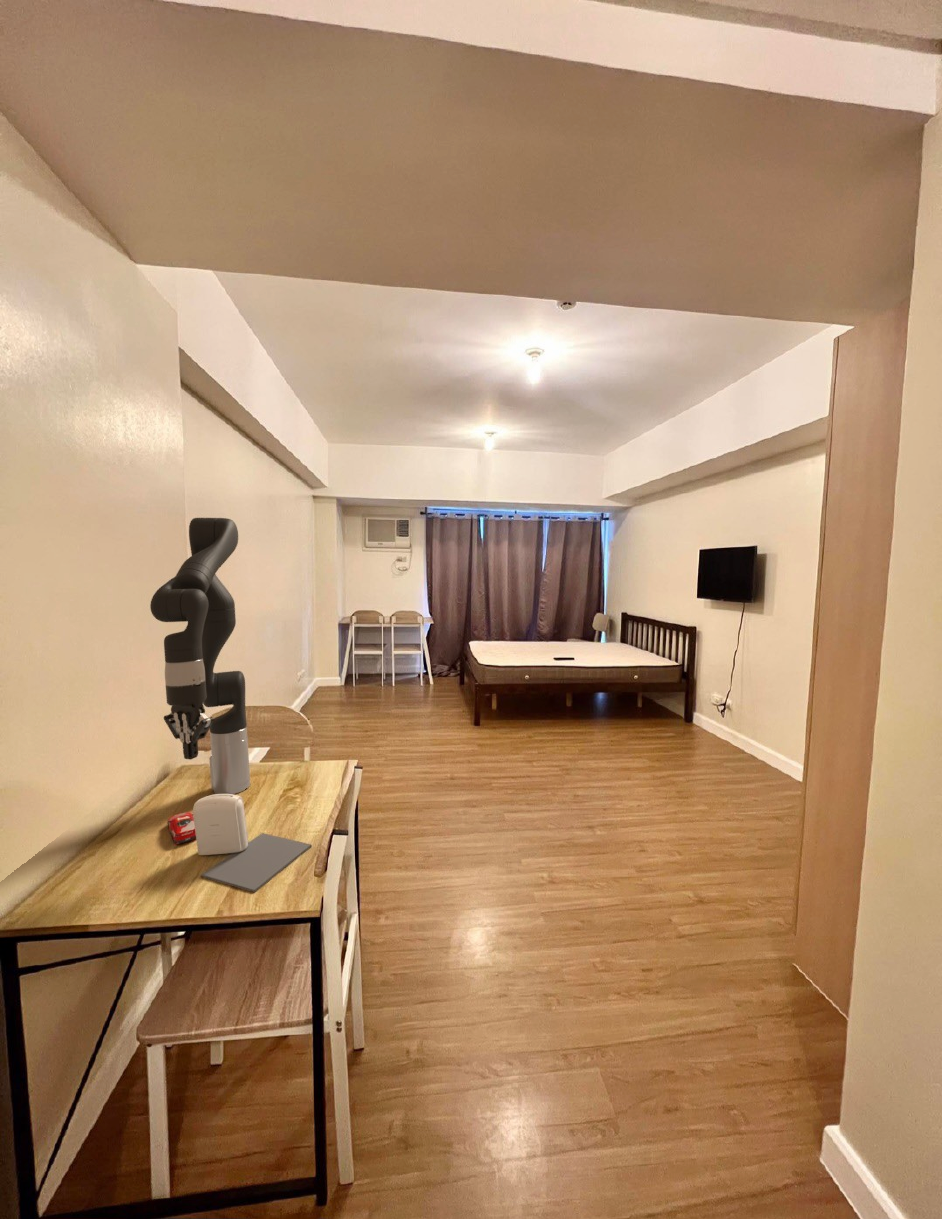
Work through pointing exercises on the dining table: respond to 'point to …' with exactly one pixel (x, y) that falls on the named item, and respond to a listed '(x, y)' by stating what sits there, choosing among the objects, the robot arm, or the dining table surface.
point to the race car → (182, 827)
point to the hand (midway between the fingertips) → (191, 758)
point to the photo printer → (220, 824)
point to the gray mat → (257, 862)
